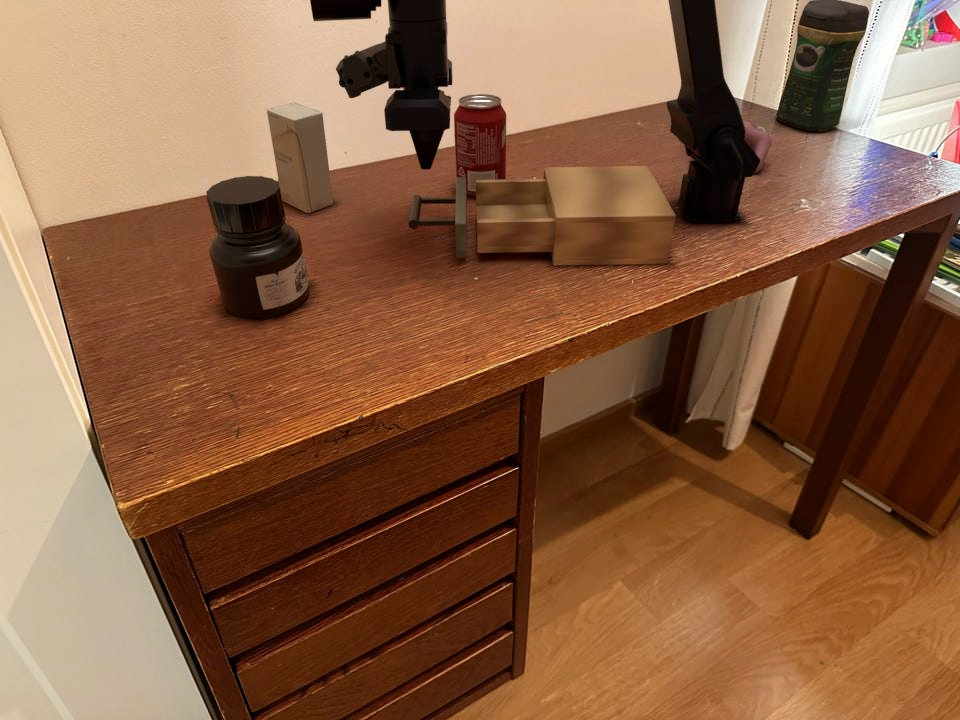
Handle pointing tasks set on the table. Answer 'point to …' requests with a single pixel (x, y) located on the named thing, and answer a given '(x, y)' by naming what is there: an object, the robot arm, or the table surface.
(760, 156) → the video game controller
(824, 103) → the coffee jar
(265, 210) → the ink bottle
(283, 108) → the cosmetic box
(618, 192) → the drawer unit
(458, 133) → the soda can
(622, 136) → the table surface
